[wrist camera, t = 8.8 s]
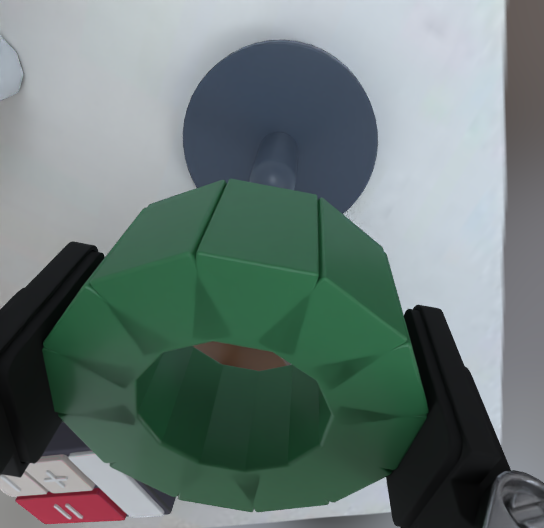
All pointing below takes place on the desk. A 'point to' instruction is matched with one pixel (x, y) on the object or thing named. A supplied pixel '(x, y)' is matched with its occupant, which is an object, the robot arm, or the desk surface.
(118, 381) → the ring
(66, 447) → the calculator
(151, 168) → the desk surface
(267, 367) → the walnut peg
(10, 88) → the milkshake
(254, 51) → the slate peg
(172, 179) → the desk surface
